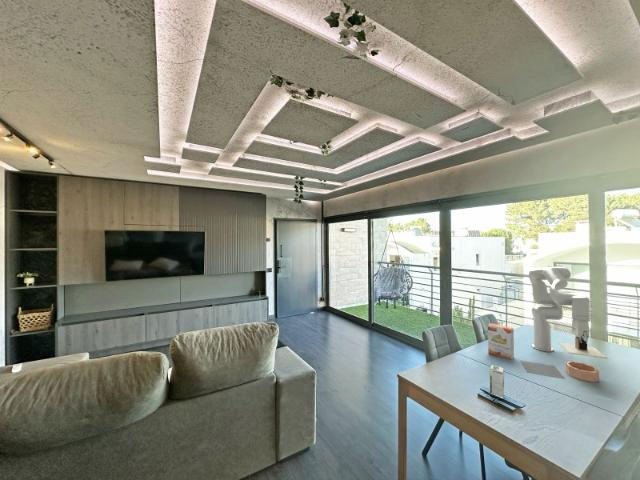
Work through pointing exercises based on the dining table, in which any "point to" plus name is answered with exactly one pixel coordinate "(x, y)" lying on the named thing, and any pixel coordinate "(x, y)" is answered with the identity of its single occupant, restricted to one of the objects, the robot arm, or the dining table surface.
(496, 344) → the cracker box
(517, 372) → the dining table surface
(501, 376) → the syrup box
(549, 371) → the mat
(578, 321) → the robot arm
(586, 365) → the bowl
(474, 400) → the dining table surface
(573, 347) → the lid
